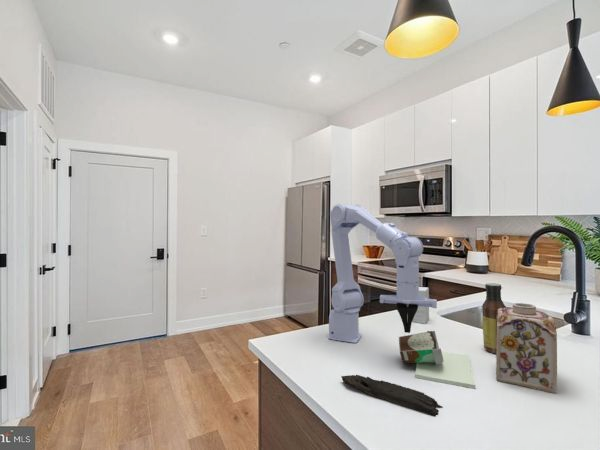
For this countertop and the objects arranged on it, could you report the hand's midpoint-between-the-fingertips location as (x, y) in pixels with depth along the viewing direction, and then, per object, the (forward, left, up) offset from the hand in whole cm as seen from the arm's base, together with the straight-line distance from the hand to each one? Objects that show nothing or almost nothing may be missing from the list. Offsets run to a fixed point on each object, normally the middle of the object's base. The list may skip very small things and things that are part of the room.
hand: (407, 331), depth 87 cm
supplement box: (0, +42, -9) cm, 43 cm away
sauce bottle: (+23, +19, -9) cm, 31 cm away
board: (+9, +1, -8) cm, 12 cm away
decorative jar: (+27, +3, -9) cm, 29 cm away
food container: (-2, 0, -7) cm, 7 cm away
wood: (-2, -18, -9) cm, 20 cm away
